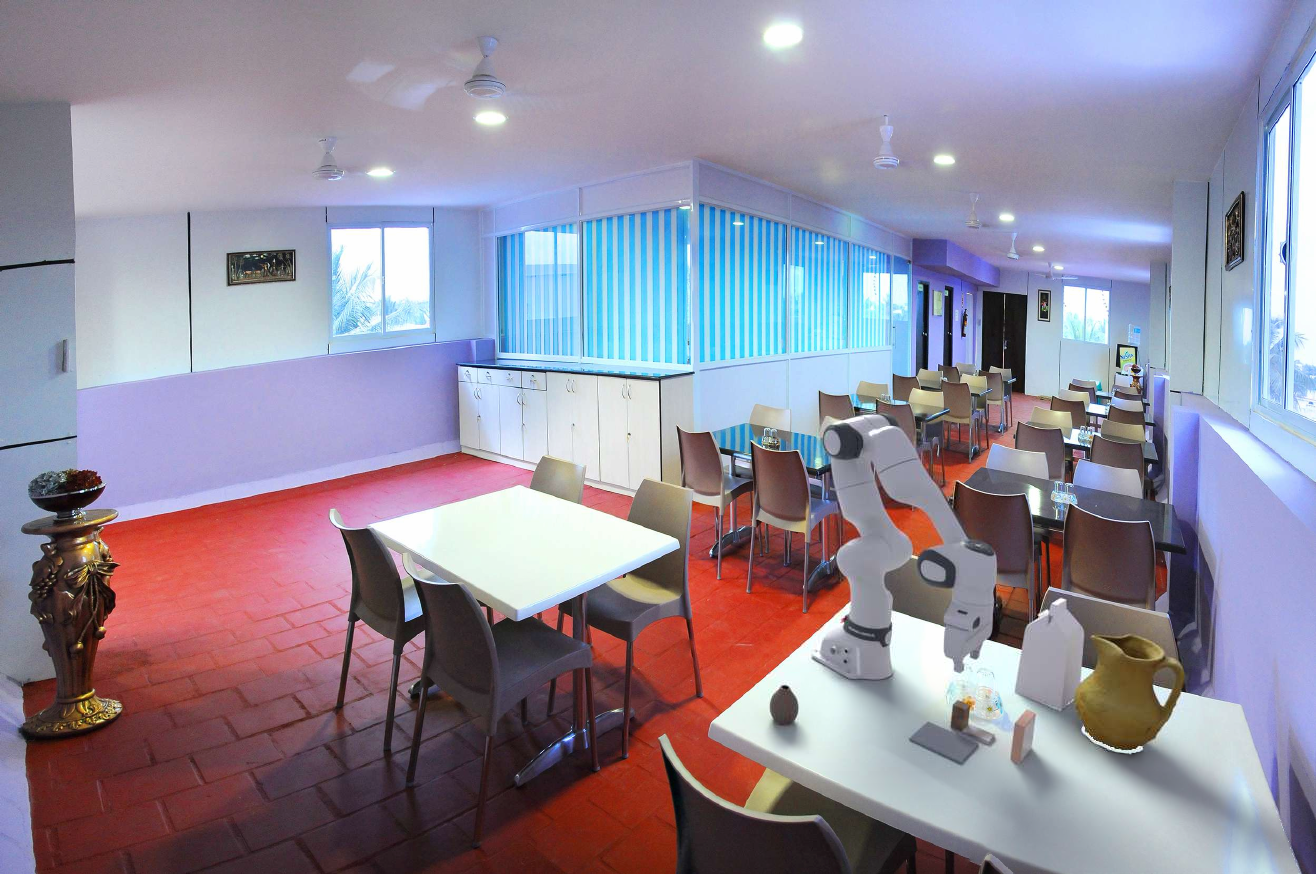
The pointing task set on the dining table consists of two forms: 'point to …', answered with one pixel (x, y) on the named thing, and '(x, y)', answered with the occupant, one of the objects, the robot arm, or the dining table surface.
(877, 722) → the dining table surface
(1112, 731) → the pitcher
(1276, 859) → the dining table surface
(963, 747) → the pad
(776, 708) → the vase
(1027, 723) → the tile
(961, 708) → the brown block
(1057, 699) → the milk
